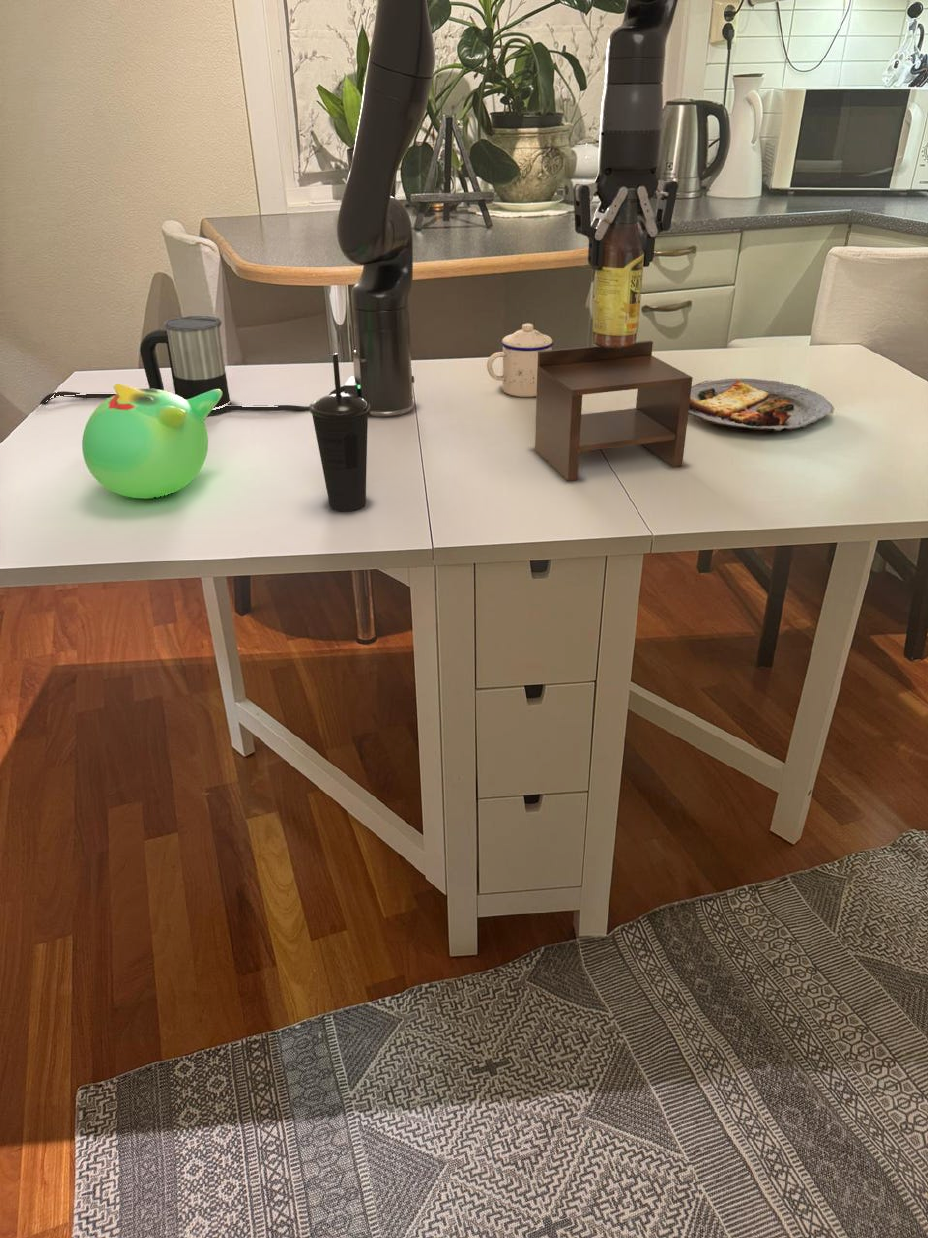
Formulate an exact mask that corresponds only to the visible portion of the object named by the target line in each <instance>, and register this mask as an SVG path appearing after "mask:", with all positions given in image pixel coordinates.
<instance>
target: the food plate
mask: <svg viewBox="0 0 928 1238" xmlns="http://www.w3.org/2000/svg"><path fill="white" fill-rule="evenodd" d="M834 412H835V407H834V405H833V404H832V403H831V402H830V401H829V400H828V399H826V397H824V395H822V394H820V393H818V392H816V391H813V390H811V389H809V388H808V387H807V388H805V387H804V386H803V387H802V386H801V385H796V384H791V383H785V382H783V381H777V380H767V379H757V378H724V379H717V380H711V379H709V380H704V381H702V382H699V383H696V384H693V385H692V387H691V396H690V404H689V413H688V415H691V416H693V417H696V418H698V419H700V420H701V419H702V420H704V421H707V422H710V423H712V424H713V425H719V426H725V427H730V428H740V429H741V428H742V429H750V430H752V431H753V430H755V431H761V430H762V431H763V430H764V431H770V432H773V431H774V432H780V431H782V430H784V429H786V430H789V431H792V430H795V429H799V428H801V427H803V428H805V427H806V426H808V425H810V424H812V423H816V422H817V421H818V420H820V419H824V417H825V416H827V415H829V414H834Z"/></svg>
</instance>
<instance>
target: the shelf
mask: <svg viewBox="0 0 928 1238" xmlns="http://www.w3.org/2000/svg"><path fill="white" fill-rule="evenodd" d="M653 345H654V341H653V340H643V341H636V342H635V344H634V345H632V346H629V347H623V348H605V347H600V346H597V345H590V346H588V345H587V346H578V347H569V348H558V349H557V348H556V349H552V350H546V351H538V365H537V370H538V371H537V396H535V397H536V400H535V437H534V451H535V452H536V453H537V454H538V455H539V456H540V457H541V458H543V459H544V461H546V462H547V463H548V464H549V465H550V466H551V467H552V468H553V469H554V470H555V471H556V472H557V473H558V474H560V475H561V476H562V477H563V478H564V479H565V481H567V482H572V481H578V479H579V464H580V463H579V461H580V452H587V451H594V450H602V449H604V450H605V449H611V448H619V447H620V448H621V447H627V446H635V445H642V446H644V447H645V448H646V449H647V450H649V451H651V452H652V453H653V454H654V455H656V456H657V457H659V458H660V459H662V460H663V462H666V463H667V464H668V465H669V466H671V467H672V468H676V467H682V466H683V462H684V454H685V446H686V439H687V438H686V437H687V430H688V429H687V428H688V422H689V421H688V419H689V414H688V413H689V404H690V396H691V387H692V386H693V380H694V379H693V378H694V377H693V376H691V375H689V374H687V373H686V372H683V371H682V370H680V369H678V368H676V367H674V366H672V365H671V364H669V363H667V362H665V361H663V360H661V359H659V358H658V357H655V356H654V355H653ZM631 390H637V391H636V403H635V408H626V409H616V410H609V411H599V412H591V413H583V414H582V408H583V403H582V402H583V396H584V395H595V394H602V393H610V392H611V393H612V392H621V391H631Z"/></svg>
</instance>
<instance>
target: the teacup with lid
mask: <svg viewBox="0 0 928 1238" xmlns="http://www.w3.org/2000/svg"><path fill="white" fill-rule="evenodd" d="M553 345H554V342H553V339H552V337H550V336H549V335H547V334H544V333H541V332H540V331H538V330H537V329H534V325H533V324H532V323H523V324H522V326H521V329H518V330H516V331H515V332H514V333H511V334H508V335H505V336H504V337H503V338H502V340H501V346H502V351H497V352H494V353H492V354H491V355H490V356H489V358H487V362H486V368H487V372H488V374H489V376H490V377H491V378H492V379H493V380H495V381H499V382H502V386H501V387H502V388H501V389H502V391H503V392H504V393H505V394H508V395H509V396H513V397H518V398H534V397H537V371H538V370H537V365H538V351H546V350H553V349H552V347H553ZM498 358H502V375H496V374H495V372H494V370H493V363H494V361H495V360H496V359H498Z"/></svg>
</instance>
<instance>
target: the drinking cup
mask: <svg viewBox="0 0 928 1238" xmlns="http://www.w3.org/2000/svg"><path fill="white" fill-rule="evenodd" d="M339 361H340V360H339V354H338V353H332V365H333V377H334V388H335V389H334V390H336V394H331V395H329V394H327V395H325V396H323V397H320V398H319V399H317V400H314V401H313V402H311V403H310V404H309V406H308V407H309V413H310V414H311V415H312V420H313V427H314V431H315V437H316V442H317V447H318V452H319V457H320V464H321V467H322V472H323V477H324V484H325V489H326V493H327V500H328V504H329V507H330V509H332V510H333V511H337V512H347V513H348V512H355V511H358V510H360V509H362V508H364V507H365V506H366V503H367V468H368V465H367V464H368V463H367V461H368V426H369V425H368V421H369V420H368V419H369V416H368V410H369V409H370V403H369V402H368V401H367V400H366V399H363V398H360V397H357V396H354V395H351V394H345V392H341V387H342V385H341V373H340V363H339Z"/></svg>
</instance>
